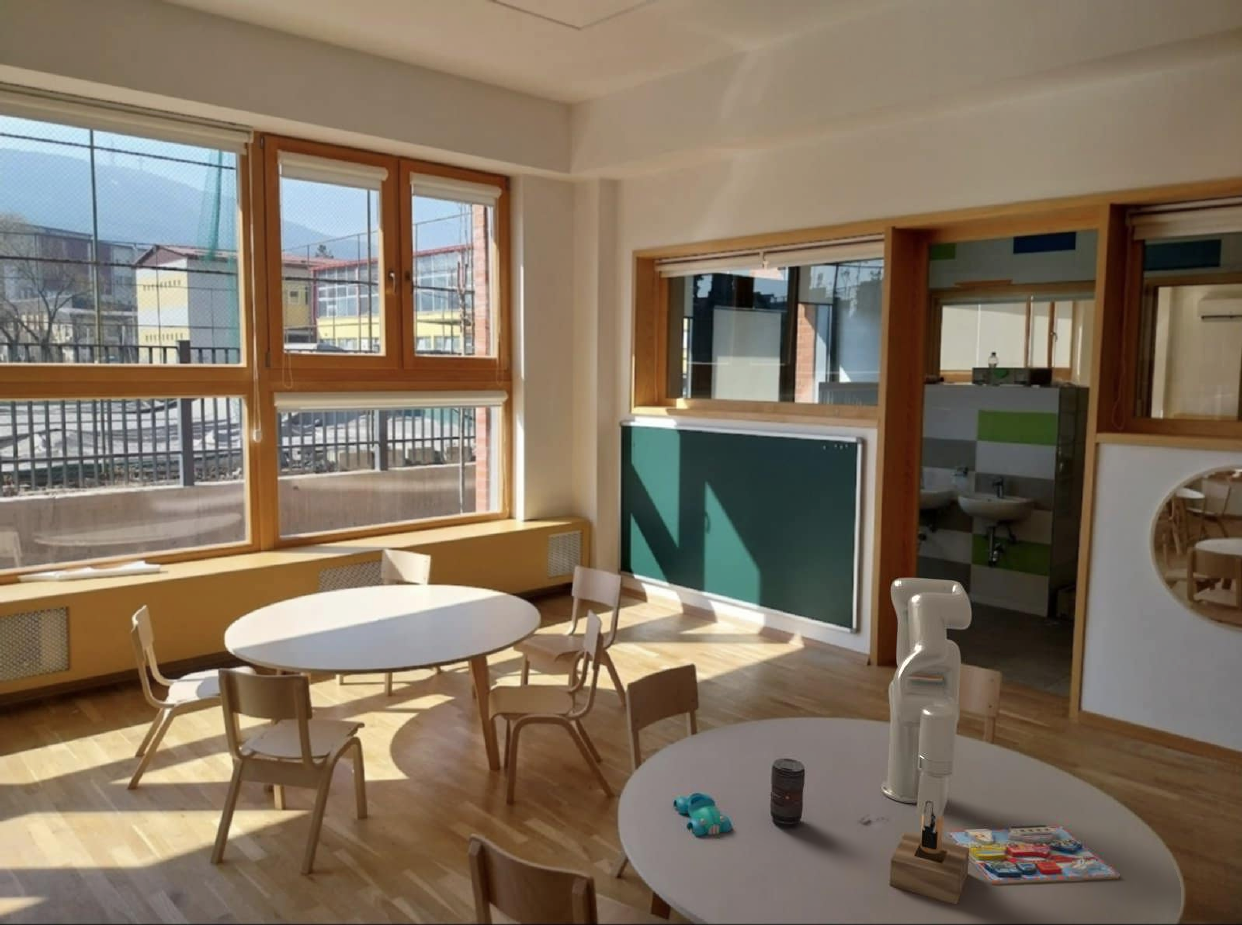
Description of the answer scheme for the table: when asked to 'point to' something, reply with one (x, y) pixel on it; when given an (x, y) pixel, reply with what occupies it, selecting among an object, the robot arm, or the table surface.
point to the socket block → (929, 869)
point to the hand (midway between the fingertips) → (931, 841)
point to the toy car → (702, 814)
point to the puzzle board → (1031, 855)
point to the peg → (939, 838)
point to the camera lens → (787, 792)
